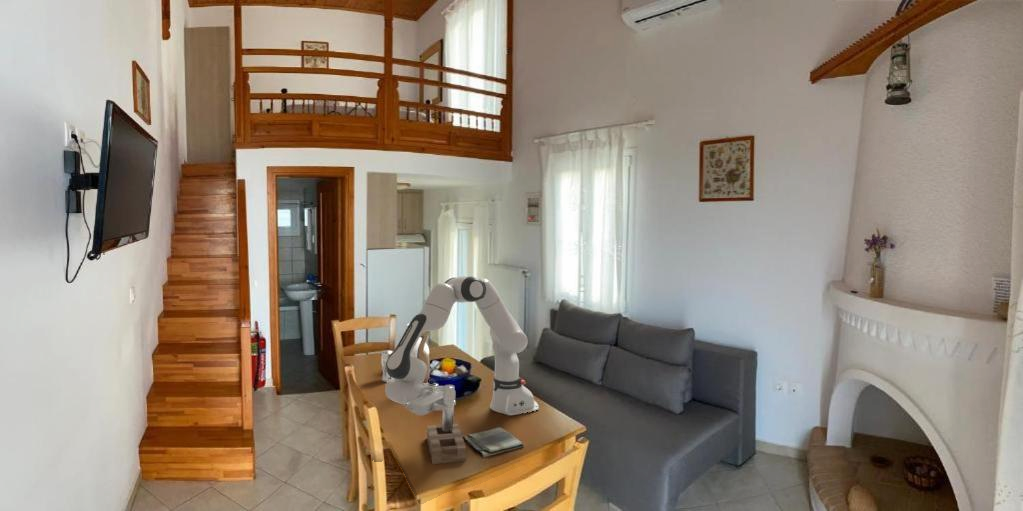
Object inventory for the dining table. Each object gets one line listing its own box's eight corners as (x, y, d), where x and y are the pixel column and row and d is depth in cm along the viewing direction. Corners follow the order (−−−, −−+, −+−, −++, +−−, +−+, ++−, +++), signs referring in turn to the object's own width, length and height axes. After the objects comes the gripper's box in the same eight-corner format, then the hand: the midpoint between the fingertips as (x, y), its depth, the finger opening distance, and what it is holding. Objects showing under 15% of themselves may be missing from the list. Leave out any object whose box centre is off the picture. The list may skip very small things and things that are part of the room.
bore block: (427, 438, 192) (427, 426, 192) (457, 435, 195) (457, 423, 195) (432, 464, 173) (432, 450, 173) (465, 460, 176) (466, 447, 176)
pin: (450, 425, 181) (451, 384, 180) (455, 429, 178) (456, 387, 177) (440, 428, 179) (441, 385, 178) (445, 432, 176) (446, 389, 174)
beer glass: (382, 377, 258) (382, 350, 257) (395, 377, 259) (396, 350, 257) (380, 382, 251) (380, 353, 250) (393, 382, 252) (394, 354, 250)
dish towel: (500, 430, 203) (500, 422, 203) (524, 448, 188) (524, 440, 188) (460, 440, 193) (460, 432, 193) (482, 460, 178) (482, 451, 178)
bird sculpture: (410, 385, 249) (410, 324, 245) (434, 383, 252) (433, 323, 248) (412, 394, 238) (411, 330, 235) (436, 392, 241) (435, 328, 238)
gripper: (402, 397, 175) (432, 406, 168) (438, 381, 193) (466, 389, 186) (401, 414, 175) (431, 424, 169) (437, 397, 193) (466, 405, 186)
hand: (450, 405), depth 177 cm, fingers closed on pin, 4 cm apart
